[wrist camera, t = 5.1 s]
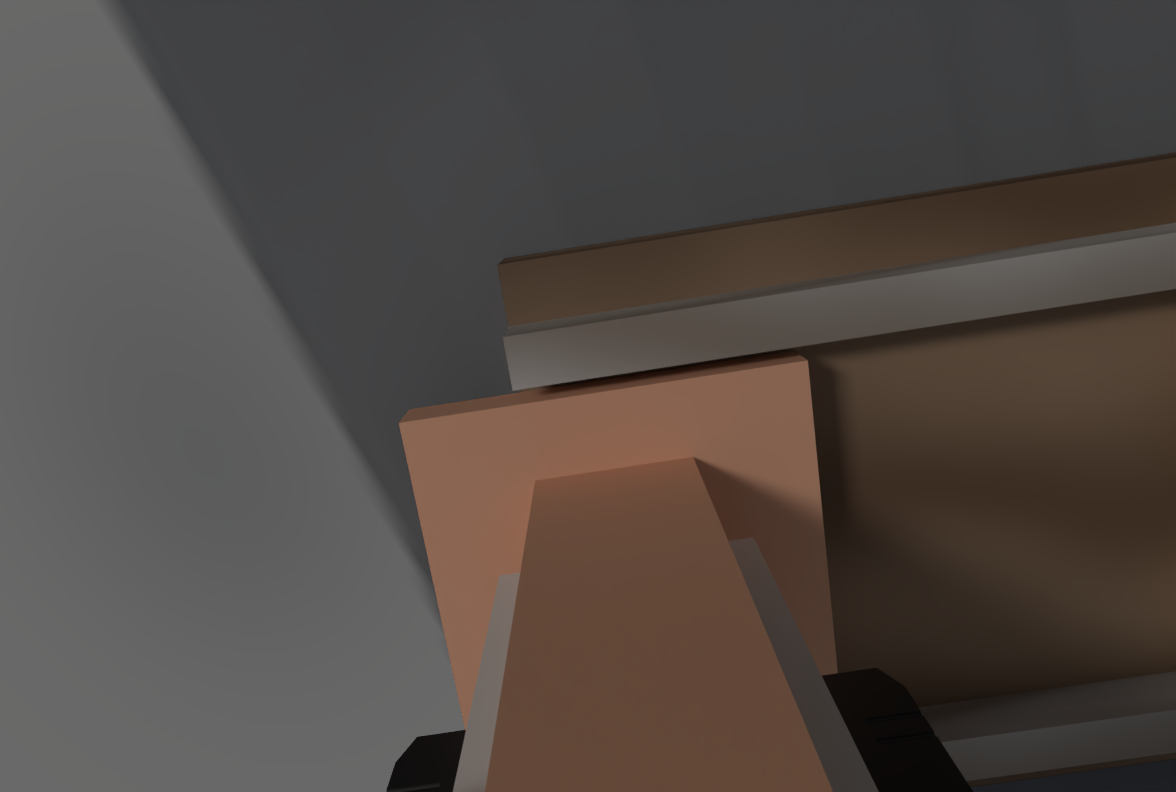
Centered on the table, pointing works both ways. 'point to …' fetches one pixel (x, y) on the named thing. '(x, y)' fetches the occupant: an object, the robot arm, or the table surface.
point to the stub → (632, 573)
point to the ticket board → (946, 433)
